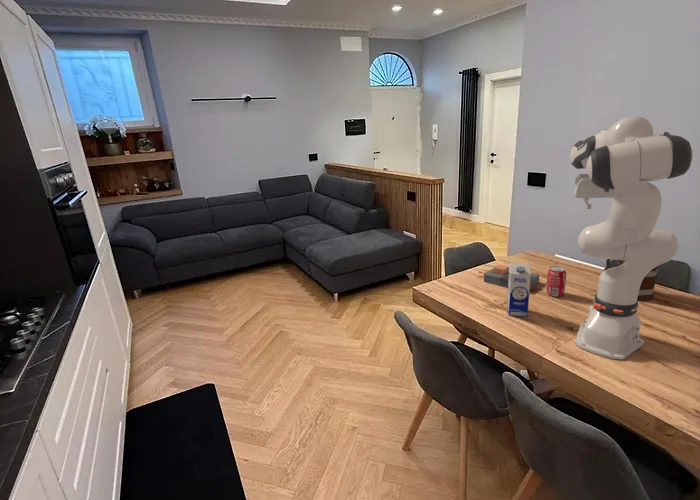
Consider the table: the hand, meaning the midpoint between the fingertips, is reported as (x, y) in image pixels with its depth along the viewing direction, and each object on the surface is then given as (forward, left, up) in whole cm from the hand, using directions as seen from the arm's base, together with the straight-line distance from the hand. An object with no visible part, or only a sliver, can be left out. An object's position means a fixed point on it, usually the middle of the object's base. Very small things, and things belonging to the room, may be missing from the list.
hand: (602, 208), depth 146 cm
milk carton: (-32, +16, -38) cm, 52 cm away
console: (-6, +31, -38) cm, 49 cm away
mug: (+13, -10, -38) cm, 41 cm away
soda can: (-7, +11, -38) cm, 40 cm away
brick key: (-6, +36, -34) cm, 50 cm away
